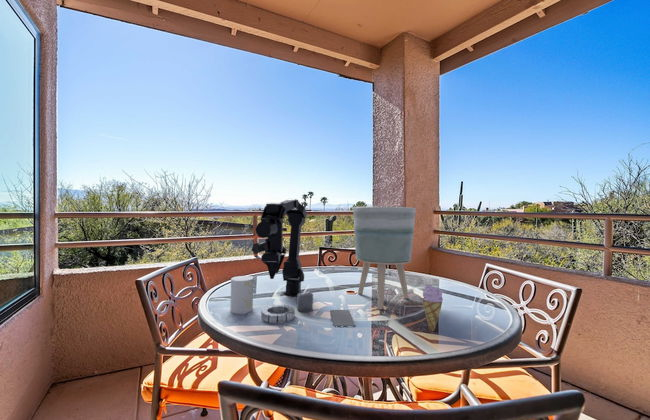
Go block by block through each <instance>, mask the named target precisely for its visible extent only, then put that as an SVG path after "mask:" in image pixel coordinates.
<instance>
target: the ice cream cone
mask: <svg viewBox="0 0 650 420" xmlns="http://www.w3.org/2000/svg"><path fill="white" fill-rule="evenodd" d="M422 296H423V297H422V303H423V305H422V306H423V310H424V314H425V318H426V322H427V325H428V331H429V332H434V331H436V326H437V323H438V321H439V317H440V313H441V309H442V305H443V300H444V299H443V291H442V290H441V289H440V288H438V287H435V286H432V285H430V284H426V285H425V286H424V290H423V292H422Z"/></svg>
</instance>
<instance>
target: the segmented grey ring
mask: <svg viewBox="0 0 650 420" xmlns="http://www.w3.org/2000/svg"><path fill="white" fill-rule="evenodd" d="M260 312H261V313H260V314H261V317H260V318H261V320H262V321H263V322H266V323H268V324H284V323H288V322H292V321H293V319H294V318H295V317H296V316H295V315H296V311H295V308H294V307H293V306H291V305H286V304H272V305H268V306H265V307H263V308H262V309H261V311H260Z"/></svg>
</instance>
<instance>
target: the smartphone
mask: <svg viewBox="0 0 650 420" xmlns="http://www.w3.org/2000/svg"><path fill="white" fill-rule="evenodd" d="M329 314H330V318H331V323H332V322H333V323H332V327H333V326H335V327H334V328H342V327H341V326H353V327H352V328H356V323H355V320H354V318H353V317H352V313H351V311H350V310H349V309H329ZM336 326H337V327H336Z"/></svg>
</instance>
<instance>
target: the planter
mask: <svg viewBox="0 0 650 420" xmlns="http://www.w3.org/2000/svg"><path fill="white" fill-rule="evenodd" d="M352 212H353V215H352V216H353V232H354V247H355V249H354V250H355V259H356V260H357V261H358V262H362V263H363V265H362V268H361V269H362V270H361V275H360V281H359V285H358V290H357V294H358V295H363V293H364V288H365V286H366V282H367V279H368V275H369V270H370V267H371V264H373V265H377V309H378V310H384V302H385V301H384V300H385V283H386V270H387V268H386V267H387V266H388V265H389V266H390V265H391V266H393V265H395V267H396V271H397V274H398V280H399V282H400V287H401V290H402V295H403V298H404V299H406V300H409V298H410V296H409V291H408V284H407V279H406V273H405V266H404V265H406V264H409V263H411V261H412V254H413V253H412V251H413V240H414V233H415V232H414V230H415V220H416V207H408V206H406V207H403V206H402V207H401V206H399V207H398V206H354V207H352Z"/></svg>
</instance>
